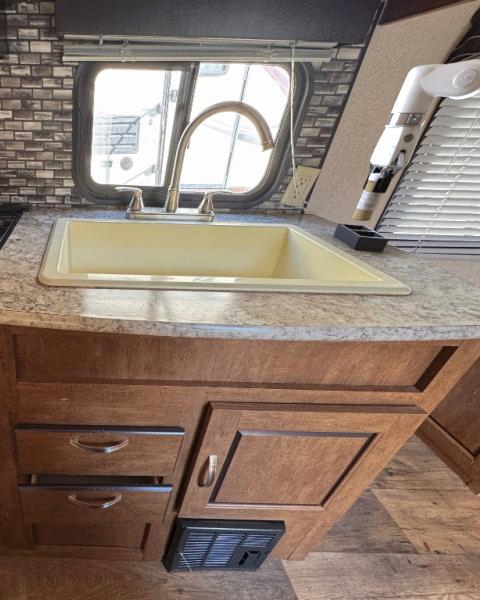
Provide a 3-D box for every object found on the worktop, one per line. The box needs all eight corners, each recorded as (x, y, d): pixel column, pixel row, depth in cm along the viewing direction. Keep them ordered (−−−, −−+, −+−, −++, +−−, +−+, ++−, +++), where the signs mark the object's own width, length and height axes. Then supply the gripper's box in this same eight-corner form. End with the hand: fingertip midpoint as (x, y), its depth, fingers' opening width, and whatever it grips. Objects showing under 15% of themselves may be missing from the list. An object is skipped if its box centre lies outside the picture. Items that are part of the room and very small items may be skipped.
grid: (358, 237, 104) (364, 225, 102) (382, 252, 92) (389, 238, 90) (333, 235, 105) (338, 223, 103) (353, 249, 94) (359, 236, 91)
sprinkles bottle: (370, 219, 98) (391, 173, 92) (368, 222, 95) (390, 175, 89) (352, 216, 101) (372, 172, 94) (350, 219, 98) (370, 173, 92)
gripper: (445, 121, 77) (405, 197, 86) (402, 121, 91) (372, 186, 100) (408, 121, 79) (374, 195, 88) (372, 121, 93) (345, 185, 102)
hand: (373, 190), depth 94 cm, fingers closed on sprinkles bottle, 4 cm apart
